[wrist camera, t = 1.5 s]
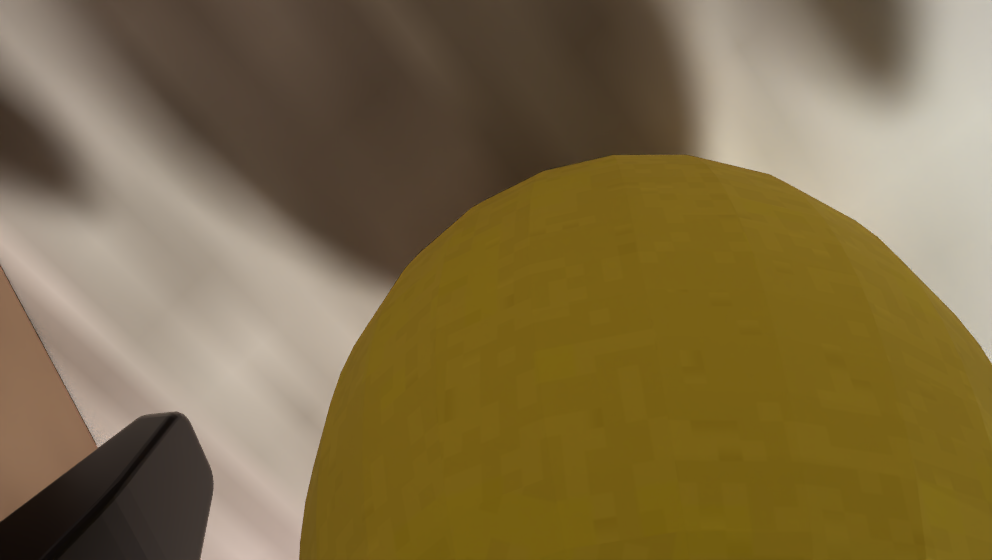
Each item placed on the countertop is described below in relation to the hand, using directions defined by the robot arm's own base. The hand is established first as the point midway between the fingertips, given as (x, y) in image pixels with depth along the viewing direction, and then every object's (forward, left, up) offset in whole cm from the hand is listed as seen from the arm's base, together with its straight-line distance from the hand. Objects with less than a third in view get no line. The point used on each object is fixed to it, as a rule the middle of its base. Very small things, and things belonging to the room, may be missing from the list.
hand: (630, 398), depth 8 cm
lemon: (0, 0, -3) cm, 3 cm away
